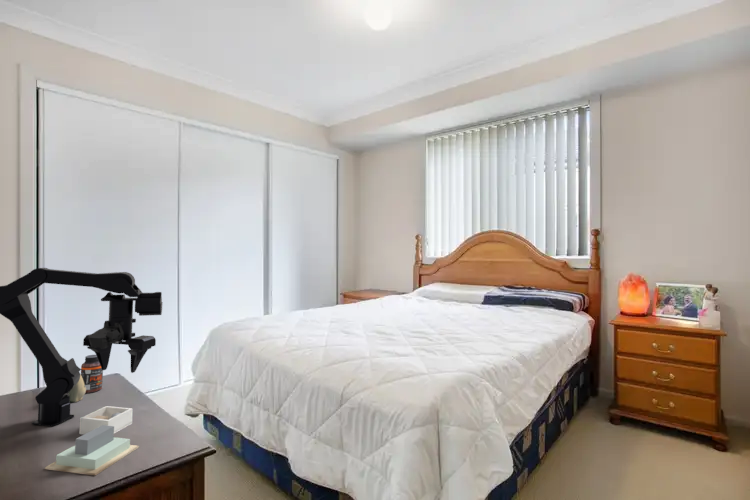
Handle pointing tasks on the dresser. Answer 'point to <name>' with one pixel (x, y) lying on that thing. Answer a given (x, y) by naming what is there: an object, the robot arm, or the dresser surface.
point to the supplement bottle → (92, 374)
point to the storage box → (106, 419)
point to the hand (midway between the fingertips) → (118, 371)
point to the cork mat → (91, 471)
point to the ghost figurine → (77, 391)
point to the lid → (93, 449)
